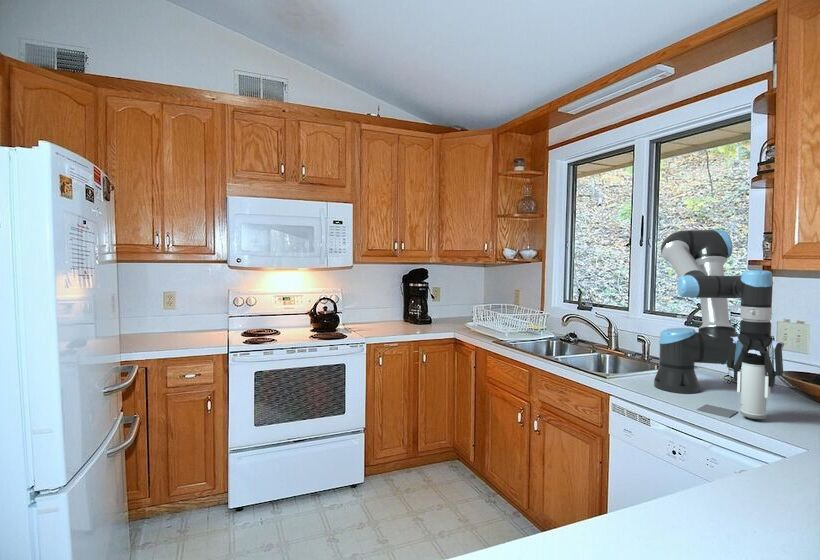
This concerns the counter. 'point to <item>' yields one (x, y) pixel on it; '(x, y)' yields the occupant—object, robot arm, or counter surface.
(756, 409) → the travel mug
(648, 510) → the counter surface
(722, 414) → the rubber mat
